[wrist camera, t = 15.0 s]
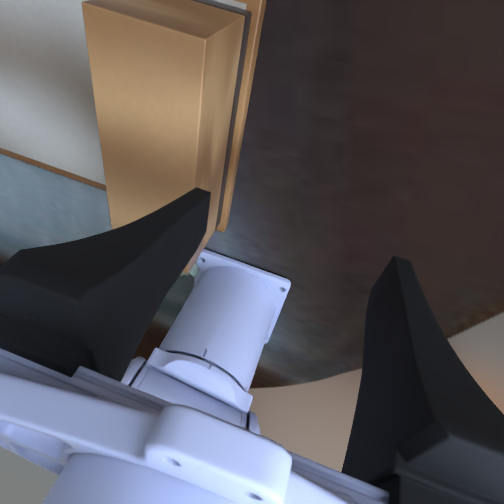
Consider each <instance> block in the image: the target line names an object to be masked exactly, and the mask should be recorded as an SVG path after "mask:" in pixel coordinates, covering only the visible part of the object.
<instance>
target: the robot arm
mask: <svg viewBox="0 0 504 504" xmlns="http://www.w3.org/2000/svg"><path fill="white" fill-rule="evenodd" d="M210 199H211V192H209V191H206V190H203V189H200V188H197V187H196V188H194V189H192V190H191V191H189V192H187V193H186V194H184V195H182V196H181V197H179V198H177V199H176V200H174V201H172V202H170V203H169V204H167V205H165V206H163V207H161V208H160V209H158V210H156V211H154V212H152V213H150V214H148V215H146V216H144V217H142V218H140V219H138V220H136V221H133V222H131V223H129V224H126V225H124V226H121V227H118V228H116V229H113V230H110V231H107V232H104V233H100V234H97V235H94V236H90V237H87V238H83V239H79V240H75V241H71V242H66V243H61V244H56V245H50V246H43V247H37V248H30V249H22V250H20V251H18V252H17V253H16V254H15V255H13V256H12V257H11V258H10V259H9V260H7V261H6V262H5V263H4V264H3V265H2V266H1V267H0V312H1V314H2V315H1V316H0V446H1V447H3V448H5V449H7V450H9V451H11V452H13V453H15V454H17V455H19V456H21V457H23V458H25V459H27V460H29V461H31V462H33V463H35V464H37V465H39V466H41V467H43V468H45V469H46V470H49V471H50V472H52V473H54V474H56V475H58V476H59V477H58V478H57V480H56V481H55V483H54V485H53V486H52V488H51V489H50V491H49V492H48V494H47V496H46V498H45V499H44V500H43V502H42V504H504V415H503V413H502V412H501V411H500V410H499V409H498V408H497V407H496V405H495V404H494V403H493V402H492V401H491V400H490V399H489V397H488V396H487V395H486V394H485V392H484V391H483V390H482V389H481V388H480V386H479V385H478V384H477V382H476V381H475V380H474V379H473V377H472V376H471V375H470V373H469V372H468V370H467V369H466V368H465V366H464V365H463V364H462V362H461V361H460V359H459V358H458V356H457V355H456V353H455V351H454V350H453V349H452V347H451V345H450V344H449V342H448V340H447V339H446V337H445V335H444V334H443V332H442V330H441V328H440V326H439V324H438V322H437V321H436V319H435V317H434V315H433V313H432V311H431V309H430V306H429V304H428V302H427V300H426V298H425V295H424V293H423V291H422V288H421V286H420V284H419V281H418V279H417V276H416V274H415V271H414V269H413V267H412V264H411V262H410V261H408V260H405V259H402V258H400V257H397V256H393V258H392V259H391V261H390V262H389V264H388V265H387V267H386V268H385V270H384V271H383V273H382V274H381V276H380V277H379V279H378V280H377V282H376V283H375V285H374V286H373V288H372V289H371V292H370V297H369V301H368V306H367V311H366V322H365V337H364V354H363V368H362V377H361V383H360V388H359V394H358V400H357V405H356V410H355V415H354V420H353V425H352V429H351V434H350V438H349V443H348V447H347V452H346V456H345V460H344V464H343V468H342V472H339V471H336V470H334V469H331V468H329V467H326V466H324V465H322V464H319V463H317V462H314V461H312V460H309V459H307V458H304V457H302V456H299V455H297V454H294V453H292V452H290V451H287V450H286V449H285V448H284V447H283V446H282V445H280V444H278V443H276V442H275V441H273V440H271V439H269V438H267V437H264V436H262V435H260V428H259V424H258V419H257V416H256V414H255V413H253V412H251V411H249V408H250V405H251V402H252V399H253V396H252V395H250V394H249V393H248V390H249V388H250V385H251V382H252V379H253V376H254V373H255V370H256V367H257V364H258V361H259V358H260V355H261V352H262V349H263V346H264V343H267V342H268V340H269V338H270V336H271V333H272V331H273V328H274V326H275V323H276V321H277V318H278V316H279V313H280V311H281V308H282V306H283V303H284V301H285V298H286V296H287V293H288V291H289V288H290V286H291V282H290V281H289V280H288V279H286V278H283V277H280V276H278V275H275V274H272V273H269V272H267V271H264V270H261V269H258V268H256V267H253V266H250V265H247V264H245V263H242V262H239V261H236V260H234V259H231V258H228V257H225V256H222V255H220V254H217V253H214V252H211V251H209V250H206V249H203V250H202V252H201V254H200V255H199V257H198V259H197V260H196V265H197V267H198V268H199V274H198V276H197V277H195V279H194V288H193V290H192V292H191V293H190V295H189V297H188V299H187V300H186V302H185V304H184V305H183V307H182V309H181V311H180V312H179V314H178V316H177V318H176V319H175V321H174V323H173V324H172V326H171V328H170V330H169V331H168V333H167V335H166V336H165V338H164V340H163V342H162V343H161V345H160V347H159V349H158V348H155V349H154V351H153V352H152V354H151V356H150V357H149V359H148V361H147V362H146V359H144V358H142V357H140V356H139V357H137V358H136V359H133V360H132V358H133V356H134V354H135V352H136V350H137V348H138V346H139V344H140V342H141V340H142V338H143V336H144V334H145V332H146V330H147V328H148V326H149V324H150V322H151V321H152V319H153V317H154V315H155V313H156V311H157V310H158V308H159V306H160V304H161V302H162V301H163V299H164V297H165V296H166V294H167V293H168V291H169V290H170V288H171V287H172V285H173V284H174V283H175V281H176V280H177V278H178V277H179V275H180V274H181V273H182V271H183V270H184V268H185V267H186V265H187V264H188V263H189V261H190V260H191V258H192V257H193V255H194V254H195V252H196V251H197V249H198V247H199V245H200V243H201V241H202V239H203V237H204V235H205V233H206V231H207V224H208V215H209V207H210ZM202 258H203V259H202ZM282 287H283V288H282Z"/></svg>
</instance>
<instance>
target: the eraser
mask: <svg viewBox="0 0 504 504" xmlns="http://www.w3.org/2000/svg"><path fill="white" fill-rule="evenodd" d="M81 4H82V12H83V19H84V27H85V34H86V42H87V49H88V56H89V64H90V71H91V79H92V86H93V94H94V101H95V108H96V116H97V123H98V131H99V138H100V145H101V153H102V160H103V168H104V175H105V183H106V190H107V197H108V205H109V212H110V220H111V227H112V230H113V229H116V228H118V227H121V226H124V225H126V224H129V223H131V222H133V221H136V220H138V219H140V218H142V217H144V216H146V215H148V214H150V213H152V212H154V211H156V210H158V209H160V208H161V207H163V206H165V205H167V204H169V203H170V202H172V201H174V200H176V199H177V198H179V197H181V196H182V195H184V194H186V193H187V192H189V191H191V190H192V189H194V188H196V187H197V188H200V189H203V190H206V191H209V192H211V199H210V207H209V215H208V224H207V231H206V233H205V235H204V237H203V239H202V241H201V243H200V245H199V247H198V249H197V251H196V252H195V254H194V255H193V257H192V258H191V260H190V261H189V263H188V264H187V265H186V267H185V268H184V270H183V271H182V272H183V273H186V274H188V273H189V271H190V270H191V268H192V267H193V265H194V263H195V262H196V260H197V259H198V257H199V255H200V254H201V252H202V250H203V249H204V247H205V246H206V244H207V242H208V241H209V239H210V238H211V236H212V234H213V233H214V231H215V229H216V228H217V226H218V225H219V223H220V221H221V214H222V208H223V201H224V194H225V188H226V181H227V175H228V168H229V161H230V155H231V148H232V141H233V135H234V128H235V122H236V115H237V108H238V102H239V95H240V88H241V82H242V75H243V69H244V62H245V55H246V49H247V42H248V35H249V29H250V22H251V16H252V12H251V11H248V10H244V9H241V8H237V7H234V6H230V5H227V4H224V3H220V2H217V1H213V0H88V1H84V2H82V3H81Z"/></svg>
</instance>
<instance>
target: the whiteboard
mask: <svg viewBox="0 0 504 504" xmlns="http://www.w3.org/2000/svg"><path fill="white" fill-rule="evenodd" d="M84 1H88V0H0V153H1V154H4V155H7V156H9V157H12V158H15V159H18V160H21V161H23V162H26V163H29V164H32V165H35V166H37V167H40V168H43V169H46V170H49V171H51V172H54V173H57V174H60V175H63V176H66V177H68V178H71V179H74V180H77V181H80V182H82V183H85V184H88V185H91V186H94V187H96V188H99V189H102V190H105V191H107V190H106V183H105V175H104V168H103V160H102V153H101V145H100V138H99V131H98V123H97V116H96V108H95V101H94V94H93V86H92V79H91V71H90V64H89V56H88V49H87V42H86V34H85V27H84V19H83V12H82V4H81V3H82V2H84ZM213 1H217V2H220V3H224V4H227V5H230V6H234V7H237V8H241V9H244V10H248V11H251V12H252V16H251V22H250V29H249V35H248V42H247V49H246V55H245V62H244V69H243V75H242V82H241V88H240V95H239V102H238V108H237V115H236V122H235V128H234V135H233V141H232V148H231V155H230V161H229V168H228V175H227V181H226V188H225V194H224V201H223V208H222V214H221V221H220V223H219V225H218V226H217V228H216V229H215V230H217V231H220V232H224V231H225V229H226V227H227V226H228V220H229V214H230V208H231V202H232V197H233V191H234V185H235V179H236V174H237V168H238V162H239V156H240V150H241V145H242V139H243V133H244V127H245V122H246V116H247V110H248V104H249V99H250V93H251V87H252V81H253V75H254V70H255V64H256V58H257V52H258V47H259V41H260V35H261V29H262V23H263V18H264V12H265V6H266V0H213Z"/></svg>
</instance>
